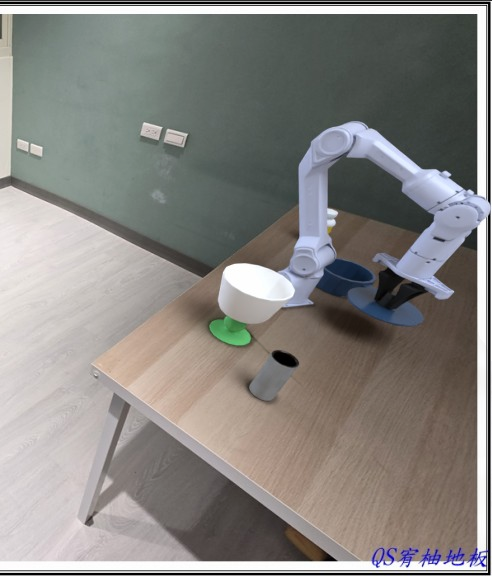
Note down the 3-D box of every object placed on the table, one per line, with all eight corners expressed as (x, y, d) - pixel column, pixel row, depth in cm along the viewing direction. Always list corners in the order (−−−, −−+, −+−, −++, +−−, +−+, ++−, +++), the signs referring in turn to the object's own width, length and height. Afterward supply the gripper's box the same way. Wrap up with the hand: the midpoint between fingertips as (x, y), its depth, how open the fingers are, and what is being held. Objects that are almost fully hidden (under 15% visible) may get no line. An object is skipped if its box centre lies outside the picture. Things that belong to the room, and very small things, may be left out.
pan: (345, 307, 99) (357, 291, 96) (292, 269, 113) (301, 254, 110) (385, 302, 101) (398, 286, 97) (328, 265, 114) (338, 250, 111)
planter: (251, 379, 80) (273, 346, 74) (275, 390, 78) (301, 357, 71) (246, 393, 77) (269, 359, 71) (271, 405, 75) (298, 371, 68)
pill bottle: (321, 249, 122) (341, 217, 115) (297, 243, 125) (316, 211, 118) (322, 241, 126) (342, 210, 119) (299, 236, 129) (317, 204, 122)
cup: (186, 319, 95) (209, 267, 85) (231, 309, 98) (258, 259, 88) (227, 358, 85) (258, 305, 75) (275, 347, 87) (311, 294, 78)
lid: (384, 331, 80) (398, 315, 78) (330, 293, 91) (341, 277, 88) (436, 325, 82) (452, 309, 79) (378, 288, 92) (390, 273, 90)
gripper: (485, 272, 72) (433, 323, 80) (408, 235, 83) (370, 283, 92) (454, 275, 71) (405, 327, 79) (381, 237, 82) (345, 285, 91)
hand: (385, 303), depth 85 cm, fingers closed on lid, 2 cm apart
